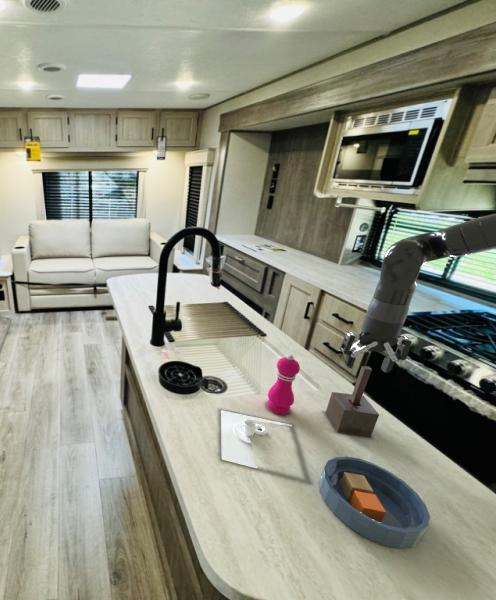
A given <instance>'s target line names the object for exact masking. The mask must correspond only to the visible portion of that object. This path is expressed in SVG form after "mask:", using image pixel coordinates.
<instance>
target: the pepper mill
mask: <svg viewBox="0 0 496 600" xmlns="http://www.w3.org/2000/svg"><path fill="white" fill-rule="evenodd" d="M276 368H277V371H276V377H277V378H276V381H275V383H274V384H273V385H272V386H271V387H270V388H269V389H268V393H267V398H268V400H267V406H266V407H267V408H268V409H269V410H270V411H271V412H273V413H275V414H277V415H280V416H281V415H282V416H285V415H288V414H289V413H290V411H291V406H292V405H294V403H295V394H294V391H293V382H294V381H295V380H296V377H297V375H298V374H299V372H300V370H301V366H300V362H298V361H297V360H296V359H295V356H294V355H293V354H291V353H290V354H287V356H286V357H285V356H284V357H281V358H279V359H278V360H277V363H276Z"/></svg>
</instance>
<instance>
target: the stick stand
mask: <svg viewBox="0 0 496 600" xmlns="http://www.w3.org/2000/svg"><path fill="white" fill-rule="evenodd" d="M351 396H352V393H344V392H335V391H331V394H330V397H329V400H328V403H327V406H326V410H325V414H326V415H327V417H328V419H329V421H330V422H331V424H332V426H333V427H334V428H335V430H336V432H337V433H342V434H348V435H355V436H362V437H369V438H371V437H372V434H373V432H374V430H375V427H376V424H377V422H378V420H379V417H380V414H379V412H378V411H377V410H376V409H375V407H374V406H373V405H372V404H371V402H369V400H368V399H367V398H366V397H365V396H364V395H362V398H361V401H360V404H359V406H357V405H351V403H350V399H351Z"/></svg>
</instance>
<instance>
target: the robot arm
mask: <svg viewBox="0 0 496 600" xmlns="http://www.w3.org/2000/svg"><path fill="white" fill-rule="evenodd" d="M491 250H496V213H492V214H487V215H485V216H481V217H477V218H474V219H470V220H467V221H463V222H460V223H457V224H453V225H451V226H448V227H445V228H442V229H437V230H433V231H429V232H424V233H420V234H416V235H412V236H409V237H405V238H402V239H400V240H398V241H396V242H394V243H392V244H391V245H390V246H389V247H388V248H387V250H386V251H385V254H384V256H383V259H382V263H381V268H380V274H379V276H380V277H379V280H378V282H377V284H376V288H375V290H374V292H373V296H372V298H371V301H369V305H368V307H367V309H366V312H365V316H364V318H363V322H362V325H361V330H360V332H359V333H353V332H351V331H350V330H349V331H346V332H345V334H344V336H343V339H342V342H341V344H340V347H339V350H340V351H341V352H342V353H343V355H345V358H344V360H343V363H344V365H345V366H346V367H347V369H350V370H351V369H353V367H354V365H355V361H356V357H357V356H358V355H361V354H364V353H366V352H367V351H368V352H378V353H383V352H384V354H385V355H386V356H384V359H383V361H382V364H381V366H380V369H381V371H382V372H384V373H390V372H391V371H392V370H393V368H394V365H395V362H397V361H400V360H401V361H406V360H407V359H408V356H409V351H410V349H411V346H412V340H410V339H409V338H408V337H406V336H405V335H402V336H400V334H401V332H402V329H403V327H404V325H405V322H406V319H407V316H408V314H409V312H410V311H409V310H410V306H411V302H412V300H413V297H414V294H415V292H416V287H417V283H416V281H417V279H418V278H419V275H420V272H421V269H422V267H423V265H424V264H425V263H428V262H432V261H437V260H441V259H445V258H449V257H450V258H451V257H453V258H454V257H455V258H456V257H465V256H469V255H472V254H473V255H475V254H479V253H483V252H487V251H491ZM399 336H400V337H399ZM396 344H397V346H396V349H395V351H394V350H393V348H392V347H394V346H395V345H396ZM361 346H362V347H361Z"/></svg>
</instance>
